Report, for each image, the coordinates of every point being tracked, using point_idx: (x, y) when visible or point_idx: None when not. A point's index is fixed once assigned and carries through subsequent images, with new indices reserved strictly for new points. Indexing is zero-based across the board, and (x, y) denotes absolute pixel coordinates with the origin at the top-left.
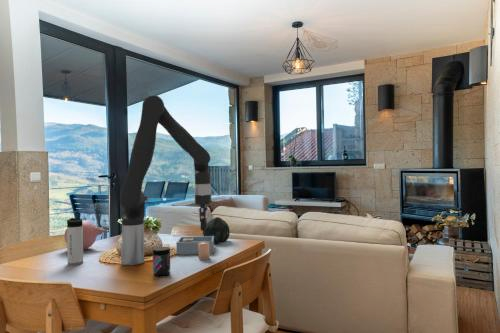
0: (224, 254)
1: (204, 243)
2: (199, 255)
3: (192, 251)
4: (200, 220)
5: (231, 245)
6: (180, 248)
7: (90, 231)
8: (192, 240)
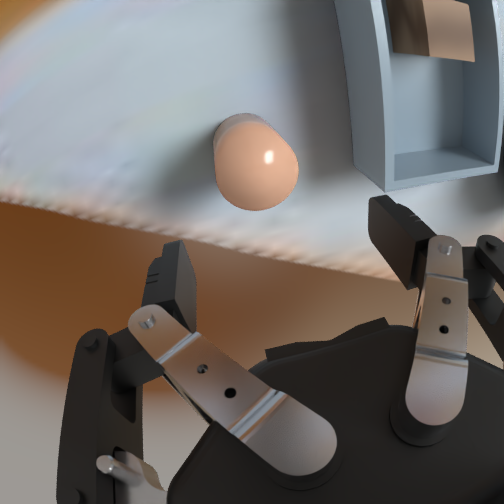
0: (327, 224)
1: (250, 180)
2: (220, 129)
3: (349, 55)
4: (83, 348)
5: (467, 217)
6: None
7: None
8: (428, 55)
